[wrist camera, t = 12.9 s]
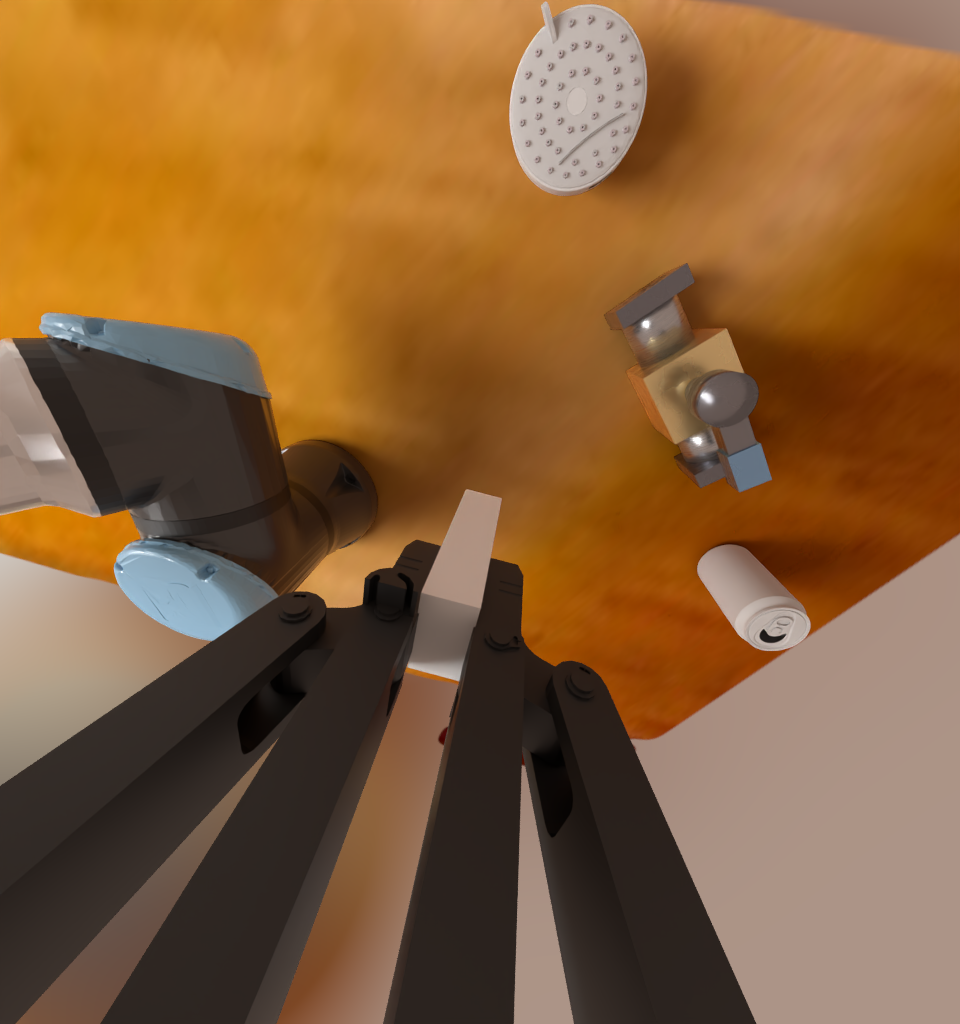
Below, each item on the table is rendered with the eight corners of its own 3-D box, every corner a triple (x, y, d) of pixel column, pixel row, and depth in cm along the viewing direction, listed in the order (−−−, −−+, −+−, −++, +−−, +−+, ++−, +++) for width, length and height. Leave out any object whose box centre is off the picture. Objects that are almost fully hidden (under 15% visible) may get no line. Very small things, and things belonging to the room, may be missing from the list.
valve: (719, 390, 38) (773, 407, 29) (653, 427, 40) (685, 452, 32) (693, 328, 36) (743, 327, 27) (625, 371, 38) (651, 382, 30)
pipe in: (688, 332, 36) (715, 332, 31) (630, 368, 38) (645, 374, 33) (663, 273, 34) (687, 262, 29) (603, 315, 36) (615, 312, 31)
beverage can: (686, 577, 48) (729, 647, 37) (708, 536, 45) (761, 599, 34) (735, 587, 48) (792, 660, 37) (760, 546, 45) (830, 613, 34)
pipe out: (734, 441, 40) (765, 457, 34) (679, 468, 42) (700, 488, 37) (714, 393, 38) (743, 403, 33) (657, 424, 40) (676, 438, 35)
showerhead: (616, -71, 21) (671, 124, 25) (597, 22, 28) (643, 167, 31) (479, 59, 25) (544, 216, 28) (491, 115, 31) (543, 238, 34)
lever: (679, 386, 29) (691, 390, 27) (733, 358, 28) (750, 361, 26) (717, 486, 32) (729, 497, 30) (766, 465, 31) (784, 475, 29)
